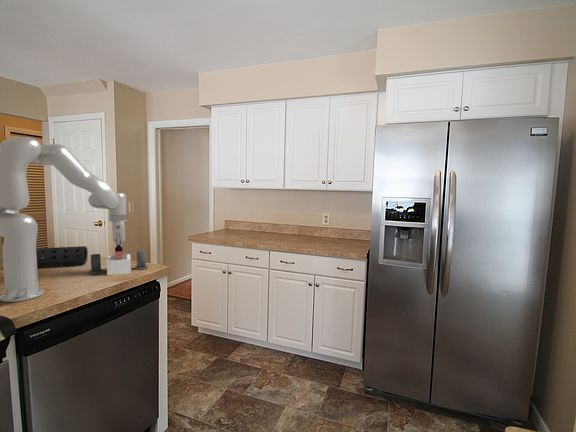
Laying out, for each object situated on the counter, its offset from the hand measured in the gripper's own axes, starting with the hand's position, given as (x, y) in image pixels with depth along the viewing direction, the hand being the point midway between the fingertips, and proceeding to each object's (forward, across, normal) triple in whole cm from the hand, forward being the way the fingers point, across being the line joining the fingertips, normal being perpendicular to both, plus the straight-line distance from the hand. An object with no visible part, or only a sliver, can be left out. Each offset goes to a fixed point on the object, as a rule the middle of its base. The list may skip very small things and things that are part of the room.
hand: (118, 254), depth 151 cm
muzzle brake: (+9, +24, +30) cm, 40 cm away
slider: (+1, -3, 0) cm, 3 cm away
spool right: (+9, +2, -10) cm, 13 cm away
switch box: (+9, +2, 0) cm, 9 cm away
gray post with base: (+9, +2, +10) cm, 13 cm away
